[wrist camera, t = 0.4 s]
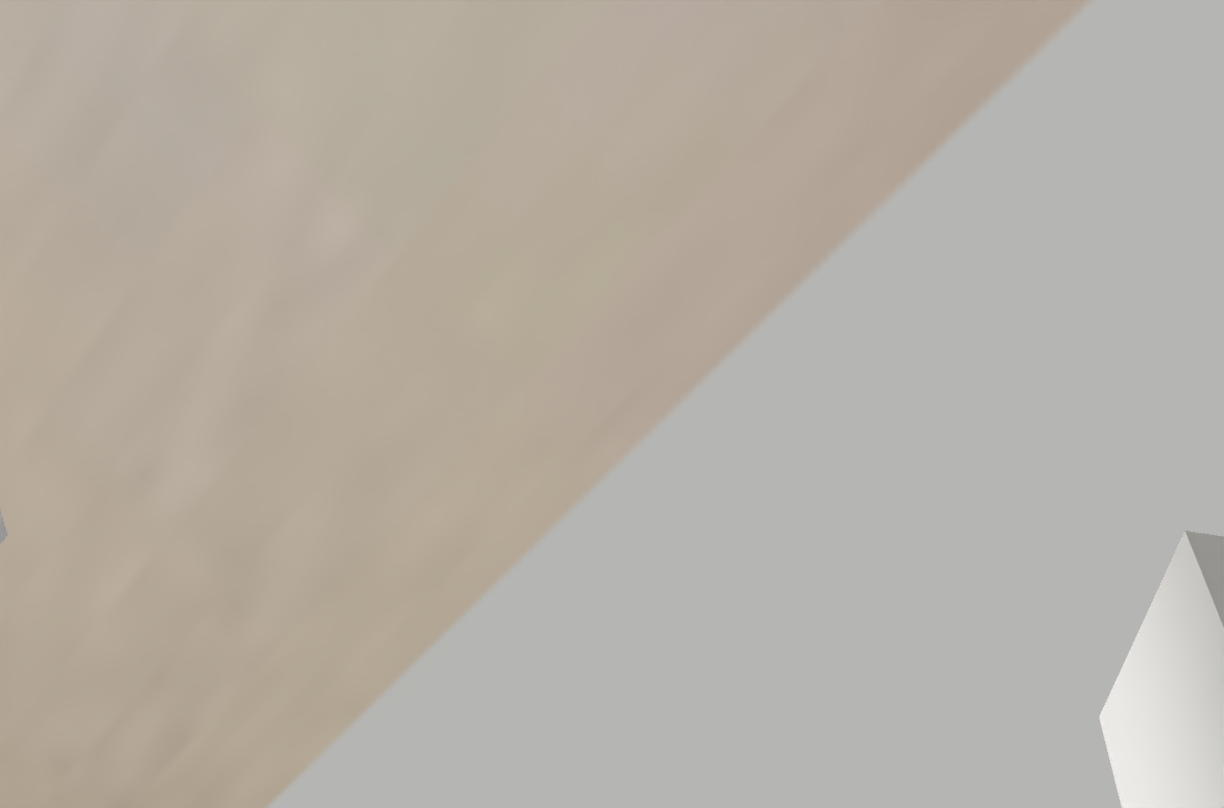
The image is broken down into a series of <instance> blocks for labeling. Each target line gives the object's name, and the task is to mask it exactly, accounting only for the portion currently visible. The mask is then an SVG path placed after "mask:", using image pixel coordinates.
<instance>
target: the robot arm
mask: <svg viewBox="0 0 1224 808" xmlns="http://www.w3.org/2000/svg"><path fill="white" fill-rule="evenodd" d="M7 536H8V535H7V532H6V528H5V525H4V522H3V518H2V515H1V511H0V543H1V542H2V541H3V540H4V539H5V538H6V537H7ZM1099 718H1100V722H1101V726H1102V730H1103V734H1104V738H1105V742H1106V746H1107V750H1108V754H1109V758H1110V762H1111V766H1112V770H1113V774H1114V778H1115V782H1116V786H1117V790H1118V794H1119V798H1120V802H1121V806H1122V808H1224V537H1222V536H1215V535H1209V534H1201V533H1195V532H1188V531H1185V532H1184V534H1183V537H1182V539H1181V541H1180V543H1179V545H1178V547H1177V550H1176V552H1175V554H1174V556H1173V558H1172V560H1171V563H1170V565H1169V567H1168V569H1167V571H1166V573H1165V576H1164V578H1163V580H1162V582H1161V584H1160V587H1159V589H1158V591H1157V593H1156V595H1155V598H1154V600H1153V602H1152V604H1151V606H1150V608H1149V610H1148V613H1147V615H1146V617H1145V619H1144V621H1143V623H1142V626H1141V628H1140V630H1139V632H1138V634H1137V636H1136V639H1135V641H1134V643H1133V645H1132V647H1131V649H1130V652H1129V654H1128V656H1127V658H1126V660H1125V662H1124V665H1123V667H1122V669H1121V671H1120V673H1119V676H1118V678H1117V680H1116V682H1115V684H1114V687H1113V688H1112V691H1111V693H1110V695H1109V697H1108V699H1107V701H1106V704H1105V706H1104V708H1103V710H1102V712H1101V714H1100V717H1099Z"/></svg>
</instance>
